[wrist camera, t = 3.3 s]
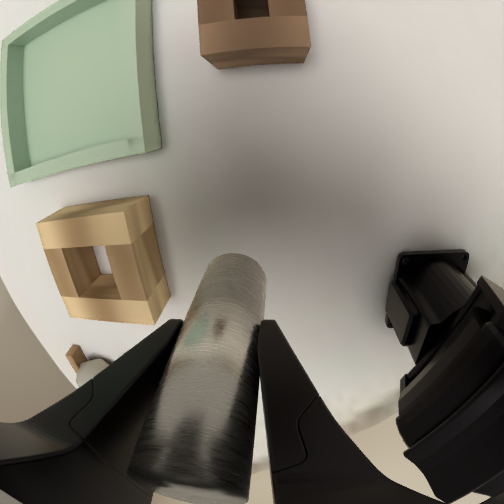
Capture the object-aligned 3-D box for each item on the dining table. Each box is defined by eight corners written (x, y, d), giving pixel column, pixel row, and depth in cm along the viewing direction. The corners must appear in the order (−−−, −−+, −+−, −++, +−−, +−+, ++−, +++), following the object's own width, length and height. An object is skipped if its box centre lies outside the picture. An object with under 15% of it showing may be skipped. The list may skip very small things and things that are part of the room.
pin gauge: (264, 252, 10) (240, 482, 3) (268, 306, 12) (253, 509, 4) (200, 254, 11) (105, 456, 4) (209, 306, 12) (151, 494, 5)
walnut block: (294, -6, 12) (298, -35, 8) (303, 63, 14) (310, 46, 10) (212, 1, 12) (196, -25, 9) (217, 69, 14) (200, 55, 11)
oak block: (148, 195, 18) (123, 211, 15) (170, 296, 22) (154, 324, 18) (63, 207, 19) (36, 223, 16) (90, 293, 22) (70, 317, 19)
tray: (152, -23, 11) (137, -37, 9) (162, 147, 17) (145, 152, 14) (21, 42, 13) (2, 40, 10) (30, 179, 18) (10, 187, 16)
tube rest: (132, 354, 25) (126, 366, 24) (191, 460, 36) (189, 469, 35) (72, 344, 26) (65, 355, 24) (146, 452, 37) (143, 460, 36)
